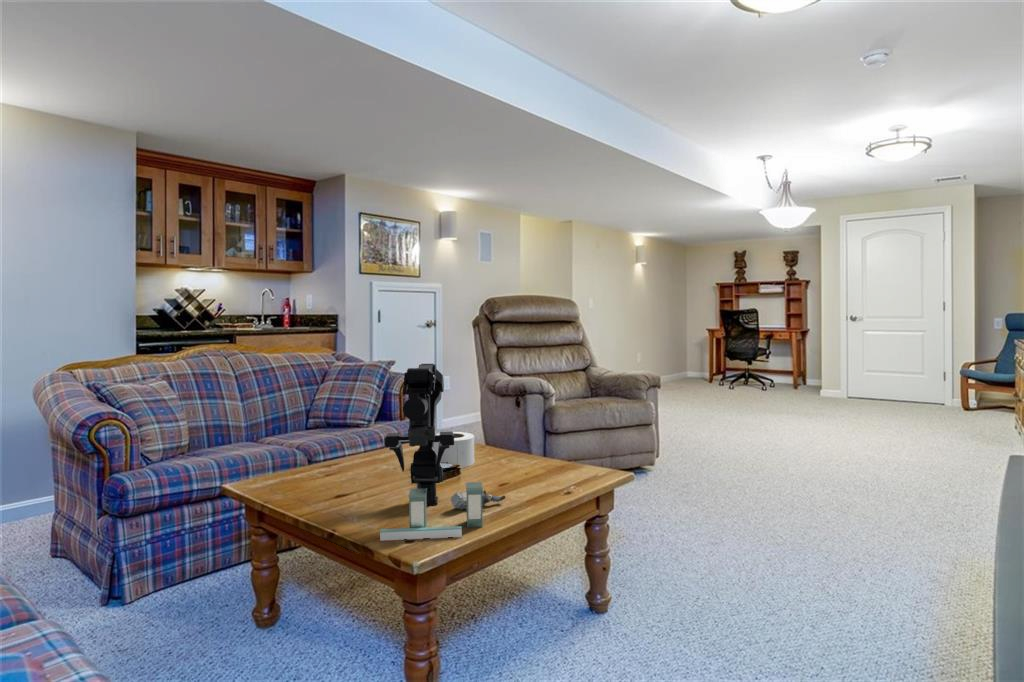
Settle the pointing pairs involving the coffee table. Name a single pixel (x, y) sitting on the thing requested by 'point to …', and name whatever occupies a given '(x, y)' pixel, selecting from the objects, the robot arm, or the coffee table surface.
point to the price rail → (420, 533)
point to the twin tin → (474, 504)
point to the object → (459, 450)
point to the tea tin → (418, 508)
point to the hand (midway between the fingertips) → (420, 470)
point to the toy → (461, 499)
